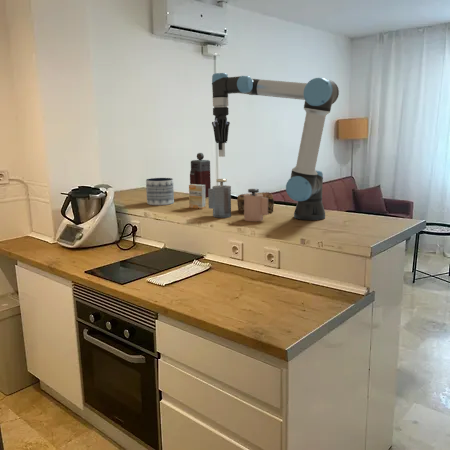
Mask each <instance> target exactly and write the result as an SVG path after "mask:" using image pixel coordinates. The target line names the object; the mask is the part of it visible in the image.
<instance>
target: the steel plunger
mask: <svg viewBox="0 0 450 450" xmlns="http://www.w3.org/2000/svg"><path fill="white" fill-rule="evenodd" d="M227 182H228V181H227V178H217V179H216V183H219V185H220V187H223V185H224V183H227Z"/></svg>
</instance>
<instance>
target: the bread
mask: <svg viewBox="0 0 450 450" xmlns="http://www.w3.org/2000/svg"><path fill="white" fill-rule="evenodd" d="M245 194H246V193H244V194H243V193H242V194H238V195H237V198H236V199H237V202H236V203H237V209H238V214H244V195H245ZM255 194H263V197H264V198H268V213H272V212H274V206H275V204H274V203H275V202H274V196H273V194H272V193H271V192H267V191H266V192H264V191H263V192H257V193H255Z"/></svg>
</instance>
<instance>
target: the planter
mask: <svg viewBox="0 0 450 450" xmlns="http://www.w3.org/2000/svg"><path fill="white" fill-rule="evenodd" d="M145 185H146V186H145V187H146V203H147V205H149V206H168V205H172V204H174V203H175V197H174V195H175V193H174V191H175V189H174V178H171V177H155V178H153V177H151V178H146V179H145Z"/></svg>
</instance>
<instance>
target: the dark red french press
mask: <svg viewBox="0 0 450 450" xmlns="http://www.w3.org/2000/svg"><path fill="white" fill-rule="evenodd" d="M204 156H205V155H204V153H203V152H198V153H197V154H196V158H197V159H193V160H192V159H191V160H190V172H189V185H191V184H198V185H205V197H206V198H208V189H212V187H211V182H212V181H211V161H210V160H209V159H204Z"/></svg>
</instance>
